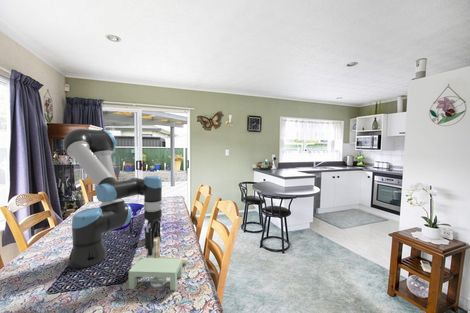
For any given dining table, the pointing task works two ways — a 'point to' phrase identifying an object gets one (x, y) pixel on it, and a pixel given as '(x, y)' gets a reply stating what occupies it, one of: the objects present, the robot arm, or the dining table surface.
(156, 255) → the pusher
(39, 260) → the dining table surface
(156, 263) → the footstool
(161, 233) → the figurine
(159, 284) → the token
